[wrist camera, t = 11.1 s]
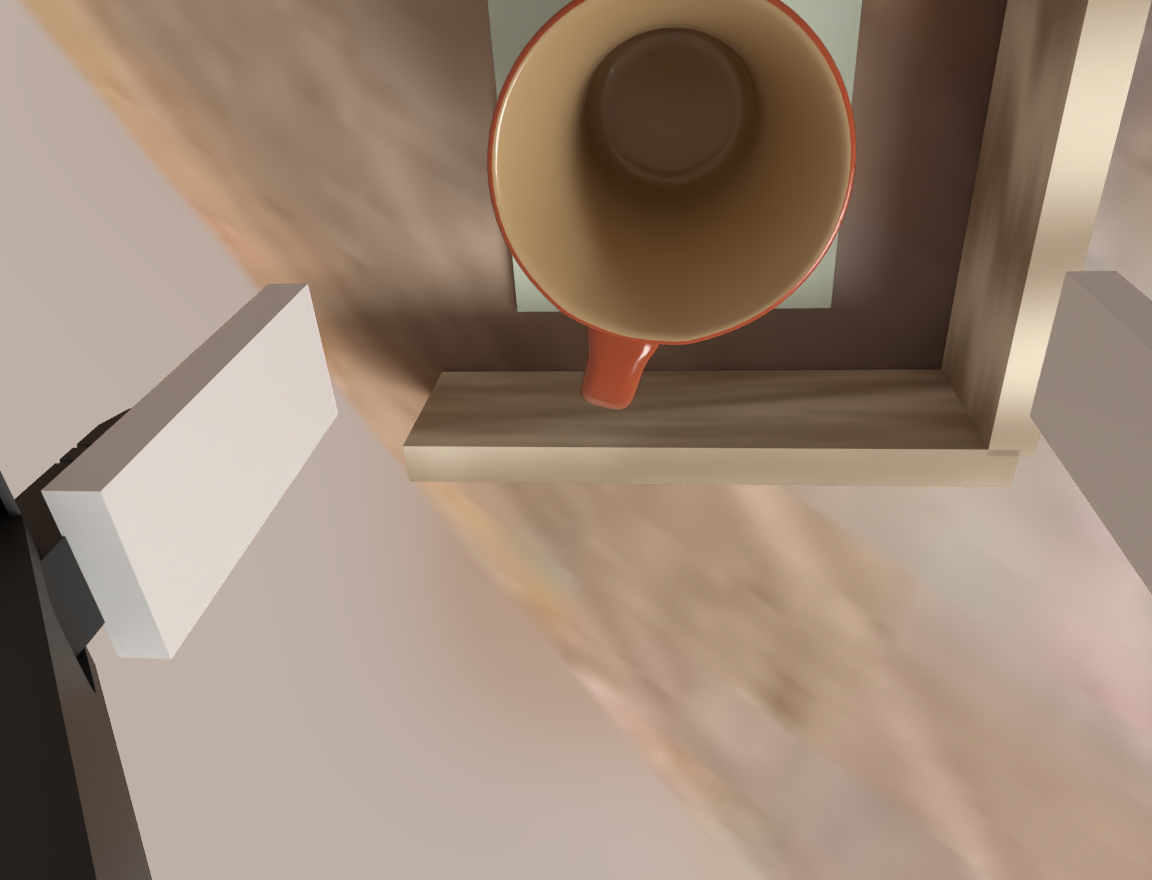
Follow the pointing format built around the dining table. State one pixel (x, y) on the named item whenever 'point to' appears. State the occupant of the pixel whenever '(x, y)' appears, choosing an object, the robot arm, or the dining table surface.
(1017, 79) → the side wall
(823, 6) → the pad
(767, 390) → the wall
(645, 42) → the mug
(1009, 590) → the dining table surface
